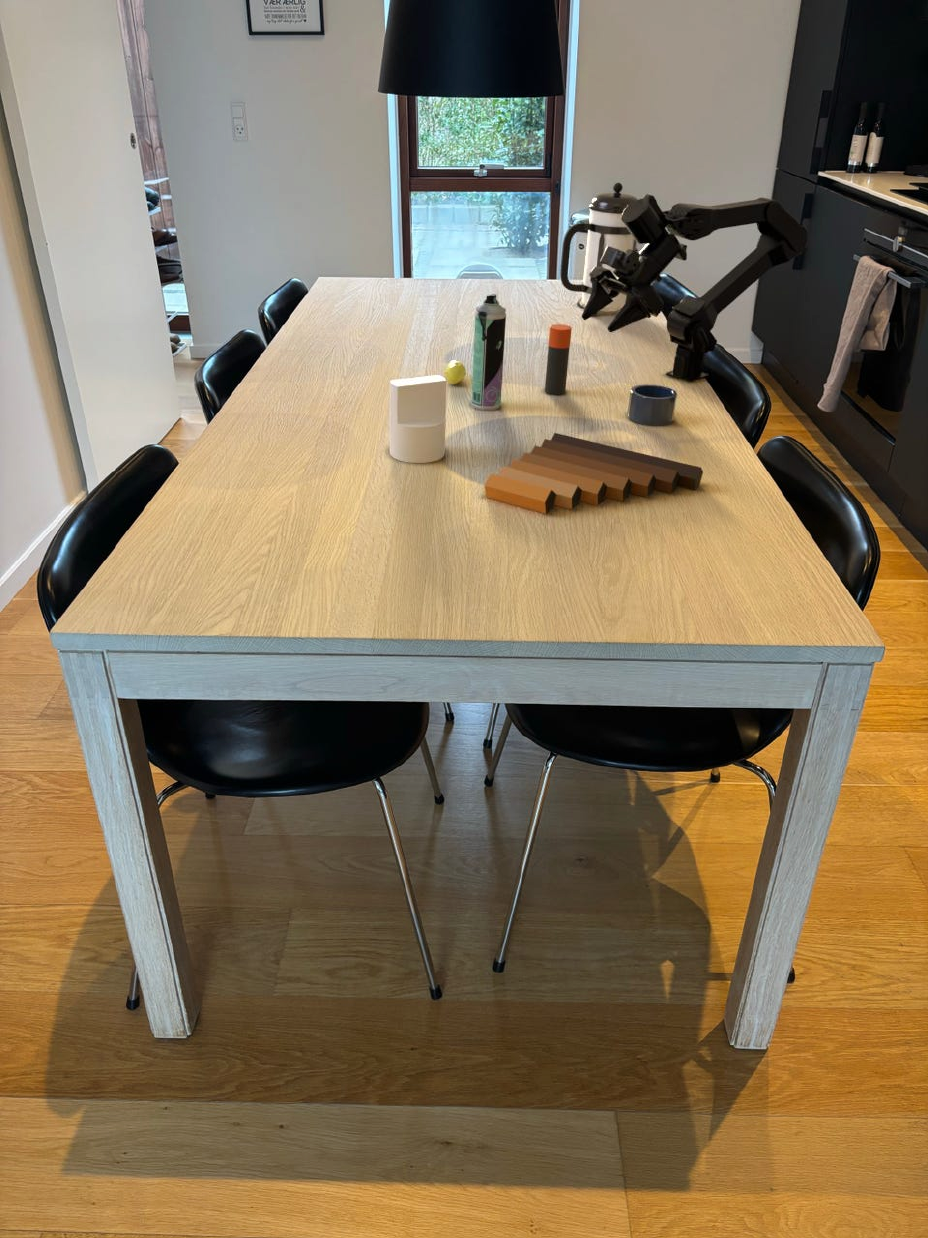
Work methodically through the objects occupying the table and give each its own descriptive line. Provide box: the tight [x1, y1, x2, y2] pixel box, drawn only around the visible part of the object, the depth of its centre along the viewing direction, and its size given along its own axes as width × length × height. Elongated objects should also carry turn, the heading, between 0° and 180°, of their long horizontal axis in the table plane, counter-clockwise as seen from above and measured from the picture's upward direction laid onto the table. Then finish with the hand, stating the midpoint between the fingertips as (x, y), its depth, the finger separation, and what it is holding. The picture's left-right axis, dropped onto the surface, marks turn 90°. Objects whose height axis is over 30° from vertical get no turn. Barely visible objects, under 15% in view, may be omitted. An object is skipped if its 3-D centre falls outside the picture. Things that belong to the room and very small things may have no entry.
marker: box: [544, 323, 573, 396], centre depth 185 cm, size 4×4×12 cm
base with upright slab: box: [389, 374, 447, 464], centre depth 155 cm, size 9×9×12 cm
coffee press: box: [559, 182, 639, 317], centre depth 237 cm, size 17×16×30 cm
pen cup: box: [627, 383, 678, 427], centre depth 175 cm, size 8×8×5 cm
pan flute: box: [484, 432, 704, 515], centre depth 146 cm, size 25×3×25 cm
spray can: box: [470, 293, 507, 411], centre depth 174 cm, size 6×6×20 cm
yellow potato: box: [444, 360, 467, 385], centre depth 190 cm, size 4×8×4 cm, turn 172°
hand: (595, 324), depth 184 cm, fingers open, 9 cm apart
